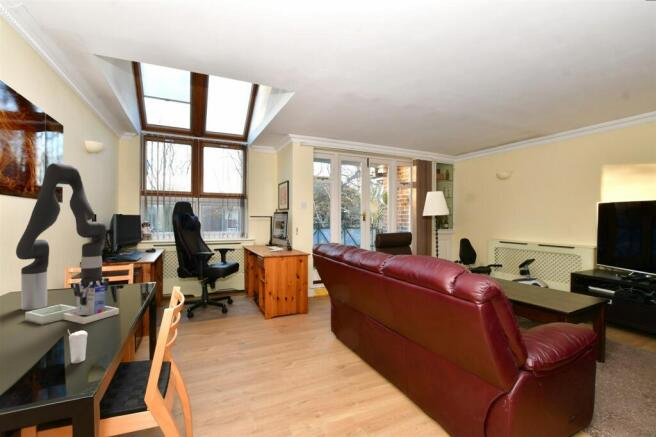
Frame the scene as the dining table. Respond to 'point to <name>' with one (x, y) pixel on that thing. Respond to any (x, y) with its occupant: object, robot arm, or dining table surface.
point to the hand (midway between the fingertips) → (91, 303)
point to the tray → (48, 314)
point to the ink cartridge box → (92, 301)
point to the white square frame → (77, 318)
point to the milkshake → (78, 346)
